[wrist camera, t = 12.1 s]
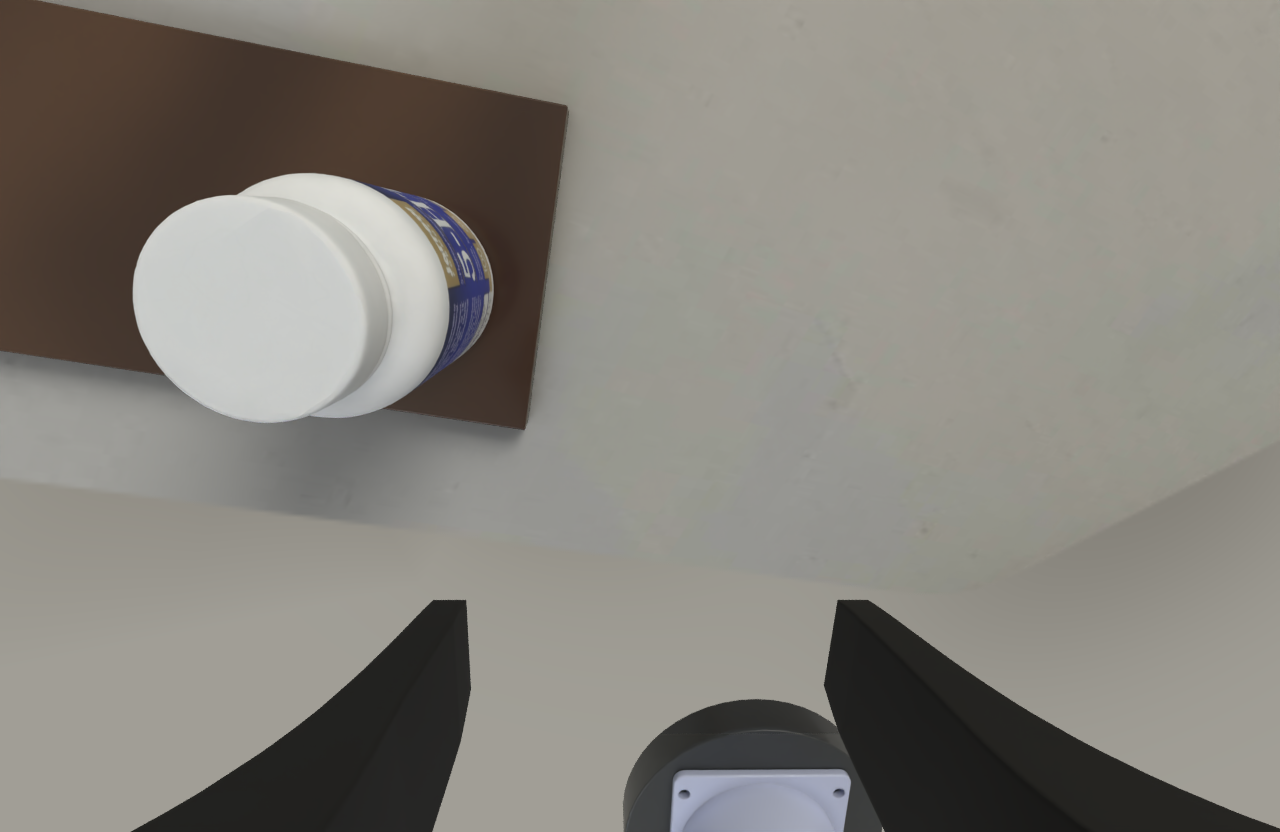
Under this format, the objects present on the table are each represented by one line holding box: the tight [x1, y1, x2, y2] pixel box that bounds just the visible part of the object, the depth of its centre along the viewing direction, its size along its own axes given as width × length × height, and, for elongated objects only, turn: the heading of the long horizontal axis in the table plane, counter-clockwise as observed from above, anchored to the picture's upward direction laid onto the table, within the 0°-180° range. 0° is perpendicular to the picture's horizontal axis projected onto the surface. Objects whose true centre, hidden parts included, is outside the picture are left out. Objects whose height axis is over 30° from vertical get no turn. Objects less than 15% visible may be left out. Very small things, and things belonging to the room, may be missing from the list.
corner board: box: [0, 0, 569, 430], centre depth 19 cm, size 20×10×1 cm, turn 80°
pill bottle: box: [133, 173, 494, 423], centre depth 15 cm, size 5×5×9 cm
